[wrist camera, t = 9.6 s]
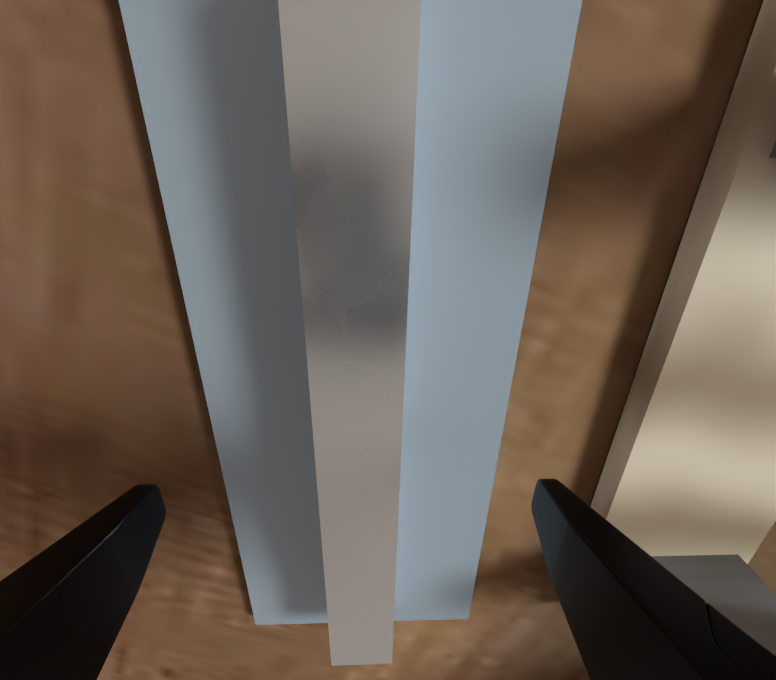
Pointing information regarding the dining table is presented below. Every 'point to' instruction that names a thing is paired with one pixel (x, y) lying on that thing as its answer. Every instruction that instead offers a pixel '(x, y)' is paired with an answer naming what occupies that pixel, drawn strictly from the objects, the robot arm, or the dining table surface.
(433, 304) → the mat
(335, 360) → the rail
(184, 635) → the dining table surface
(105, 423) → the dining table surface
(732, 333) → the rail stand
